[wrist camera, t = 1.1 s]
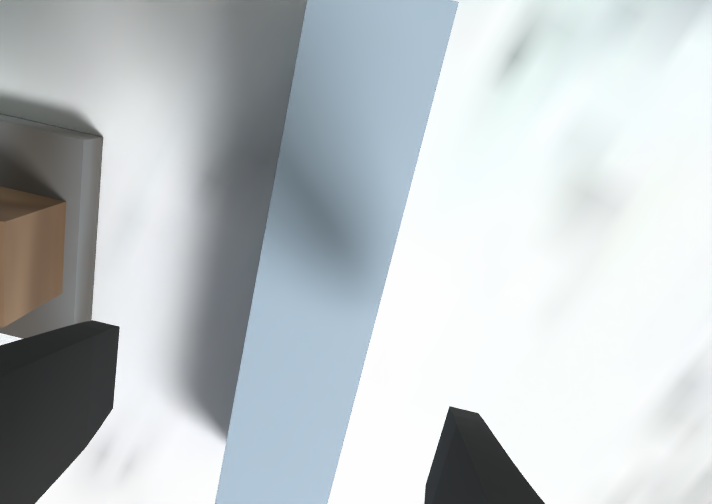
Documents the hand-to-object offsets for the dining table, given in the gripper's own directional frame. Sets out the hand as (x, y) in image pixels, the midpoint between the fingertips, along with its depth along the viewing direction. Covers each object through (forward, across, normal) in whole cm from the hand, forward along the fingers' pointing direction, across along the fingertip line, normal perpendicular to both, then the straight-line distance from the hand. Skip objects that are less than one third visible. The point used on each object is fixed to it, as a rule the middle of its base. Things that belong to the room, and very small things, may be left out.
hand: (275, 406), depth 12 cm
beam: (+9, 0, 0) cm, 9 cm away
